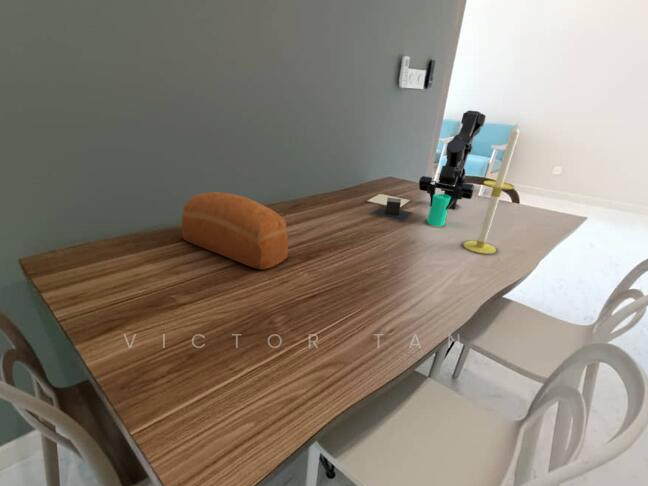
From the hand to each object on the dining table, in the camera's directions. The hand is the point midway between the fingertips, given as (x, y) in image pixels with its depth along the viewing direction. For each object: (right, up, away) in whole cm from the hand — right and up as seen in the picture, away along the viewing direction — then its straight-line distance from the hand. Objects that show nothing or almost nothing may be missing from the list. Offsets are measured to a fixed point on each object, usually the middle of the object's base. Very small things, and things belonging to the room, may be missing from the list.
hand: (438, 207), depth 140 cm
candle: (0, -5, +5) cm, 7 cm away
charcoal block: (-14, +1, +11) cm, 18 cm away
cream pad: (-12, +9, +26) cm, 30 cm away
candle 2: (+9, -16, -13) cm, 22 cm away
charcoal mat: (-14, 0, +12) cm, 18 cm away
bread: (-68, -18, -24) cm, 75 cm away
